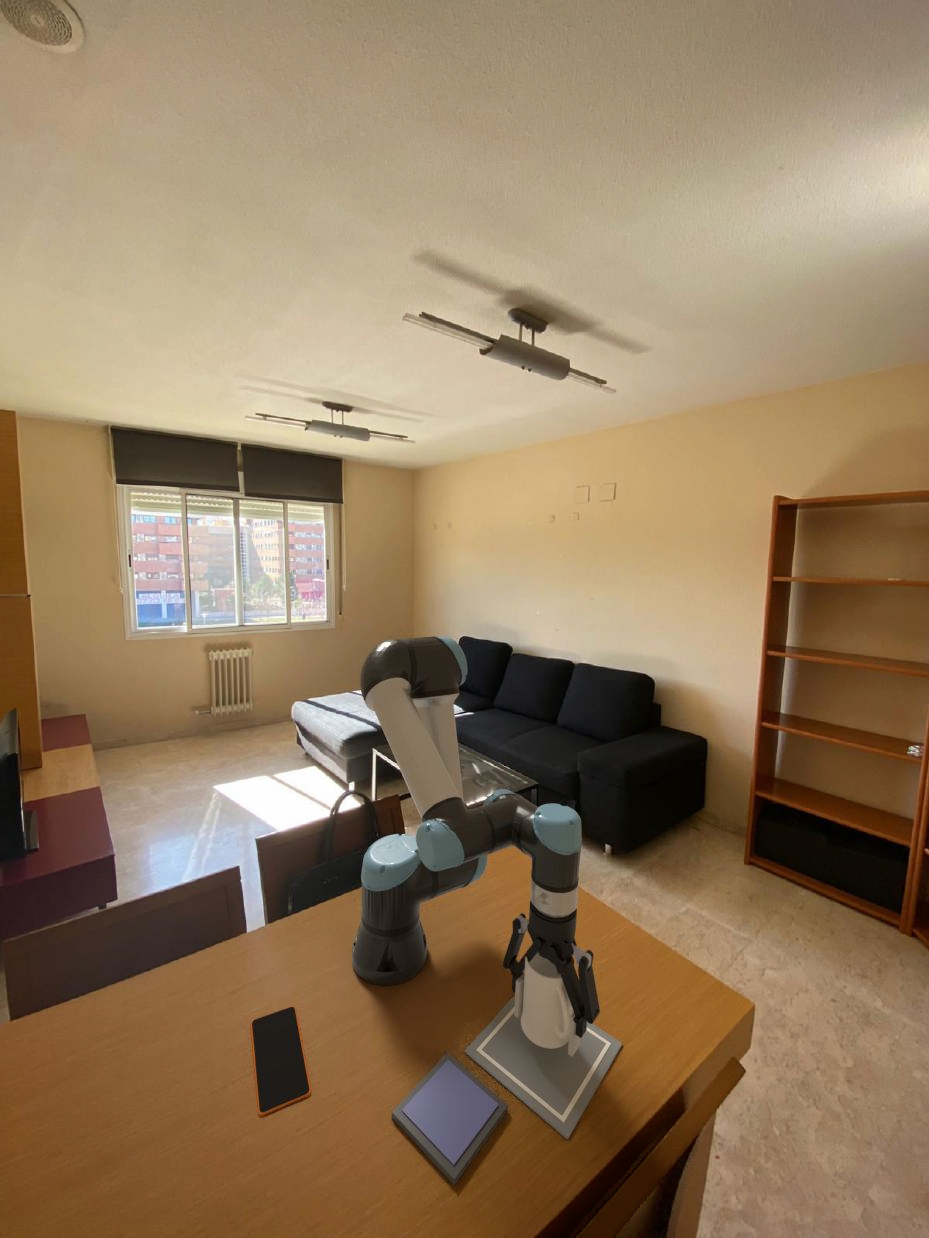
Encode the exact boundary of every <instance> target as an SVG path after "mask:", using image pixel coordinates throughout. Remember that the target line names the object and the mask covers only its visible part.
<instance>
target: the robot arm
mask: <svg viewBox="0 0 929 1238" xmlns="http://www.w3.org/2000/svg"><path fill="white" fill-rule="evenodd" d="M359 674H360V675H359V676H360V677H359V686H360V693H361V696H362V698H363V699H362V700H363V701H364V703H365V706H366V707H367V709H368V710H370V711H372V712H374V713H375V716H376V718H377V720H378V723H379V725H380V727H381V728H382V731H383V734H384V736H385V738H386V741H387V743H388V745H389V748H390V749H391V752H392V755H393V757H394V760H395V761H396V764H397V766H398V768H399V771H400V773H401V775H402V777H403V779H404V782H405V784H406V787H407V788H408V791H409V794H410V796H411V798H412V801H413V802H414V804H415V808H416V810H417V812H418V815H419V816H420V819H421V821H422V822H421V823H420V825H419V826H418V828H417V830H416V835H415V836H413V835H410V834H407V833H403V834H401V835H400V834H399V833H395V834H390V835H389V834H388V835H386V836H383V837H381V838H379V839H378V840H377V839H376V841H374V842H373V843H372V844H371V845H370V846H369V847H368V849H367V850H366V852H365V854H364V855H363V860H362V867H361V875H360V878H361V879H360V880H361V921H360V923H359V927H358V929H357V933H356V936H355V938H354V940H353V944H352V948H351V963H352V968H353V970H354V971H355V973H356V974H357V975H358V977H360V978H361V979H362V980H364V981H366V982H368V983H370V984H374V985H378V986H394V985H399V984H402V983H405V982H407V981H409V980H411V979H412V978H414V977H415V976H416V975H418V974H419V973H420V971H421V970H422V968H423V967H424V966H425V964H426V961H427V957H428V941H427V936H426V933H425V931H424V927H423V925H422V921H421V918H420V913H421V912H420V911H421V910H420V908H421V904H423V903H425V902H427V901H430V900H433V899H435V898H438V897H441V896H444V895H446V894H448V893H452V892H454V891H457V890H459V889H464V888H466V887H469V886H470V884H473V883H475V882H478V881H479V879H481V877H483V875H484V873H485V871H486V868H487V865H488V855H491V854H493V853H496V852H499V851H501V850H502V851H503V850H504V849H506V848H510V847H515V848H516V849H518V850H519V851H520V852H522V853H523V854H525V855H526V856H528V857H530V859H531V870H530V871H531V873H530V874H531V875H530V896H529V897H530V901H529V910H528V911H529V913H528V919H527V916H526V914H525V913H523V912H521V913H519V915H518V916H517V917H515V918H514V919H513V920H512V932H511V936H510V939H509V941H508V945H507V948H506V952H505V953H504V954H505V955H504V958H503V960H502V966H503V968H504V969H505V970H509V971H510V975H511V976H512V978H511V979H512V980H511V991H512V993H514V995H515V1011H514V1016H516V1017H517V1018H518V1017H519V1016H520V1015H521V1014H522V1011H523V994H524V972H525V956H526V957H527V960H528V963H529V962H530V961H531V960H532V959H533V958H534V956H535V955H536V954H537V953H539V956H541V957H543V958H546V959H548V960H549V961H550V962H551V963H553V964H554V965H555V966H556V969H557V972H558V974H560V975H561V977H562V980H563V983H564V986H565V989H566V991H567V994H568V997H569V1000H570V1003H571V1006H572V1010H573V1011H574V1012H573V1013H572V1015H571V1016H570V1028H569V1044H568V1054H569V1055H570V1056H571V1057H573V1055H574V1054H575V1052H576V1051H577V1049H578V1048H579V1046H580V1041H581V1038H582V1036H583V1035H584V1033H585V1032H586V1030H587V1022H588V1023H590V1024H594V1022H595V1021H596V1020H597V1018H598V1016H599V1015H600V1013H601V1010H600V1003H599V997H598V992H597V991H598V990H597V986H596V981H595V974H594V968H593V964H594V957H595V956H594V955H595V954H594V952H593V951H592V950H591V949H587V950H586V951H584V950H583V949H582V948H580V947H579V946H578V944H577V942H576V938H575V937H576V930H577V914H578V910H577V908H578V905H579V904H578V899H579V879H580V877H579V874H580V864H581V863H580V862H581V852H582V846H583V839H582V838H583V836H582V819H581V817H580V815H579V814H578V812H577V811H576V810H575V809H573V808H572V807H569V805H561V804H560V803H545V804H542V805H540V806H537V805H536V804H534V803H532V802H531V801H529V800H528V799H526V798H524V797H523V796H522V795H520V794H519V793H515V792H513V791H511V790H509V789H508V788H499V789H497V790H496V789H495V790H494V791H493V792H492V793H491V794H490V795H488V796H487V797H486V799H485V800H484V803H483V804H482V805H479V806H476V807H472V808H468V809H467V806H466V804H465V801H464V791H463V781H462V773H461V762H460V754H459V753H460V752H459V743H458V735H457V733H458V732H457V724H456V723H457V722H456V714H455V707H454V706H455V704H454V703H455V700H457V698H458V697H459V696H460V689H459V688H460V686H462V685H463V684H464V683H465V682H466V680H467V677H466V676H467V675H468V661H467V657H466V655H465V653H464V651H463V648H462V647H461V645H460V644H459V643H457V641H456V640H454V639H453V638H451V637H448V636H432V635H431V636H425V637H411V638H410V637H409V638H391V639H387V640H384V641H382V642H380V643H378V644H377V645H376V646H374V647H373V648H372V649H371V650H370V651H369V653H368V654H367V656H366V657H365V659H364V661H363V663H362V667H361V671H360V673H359ZM526 931H527V932H528V935H529V937H530V938H531V941H532V944H531V945H530V946H529V947H530V948H529V947H528V948H529V949H528V948H527V949H526V951H527V952H525V953H524V955H523V956H522V957H521V958H520V960H519V961H518V960H517V958H518V955H519V952H520V948H521V946H522V943H523V941H524V938H525V934H526ZM574 958H575V959H574ZM563 962H564V963H563ZM575 962H576V963H575ZM575 966H576V967H577V968H578V969H577V970H578V971H576V968H575Z"/></svg>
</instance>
